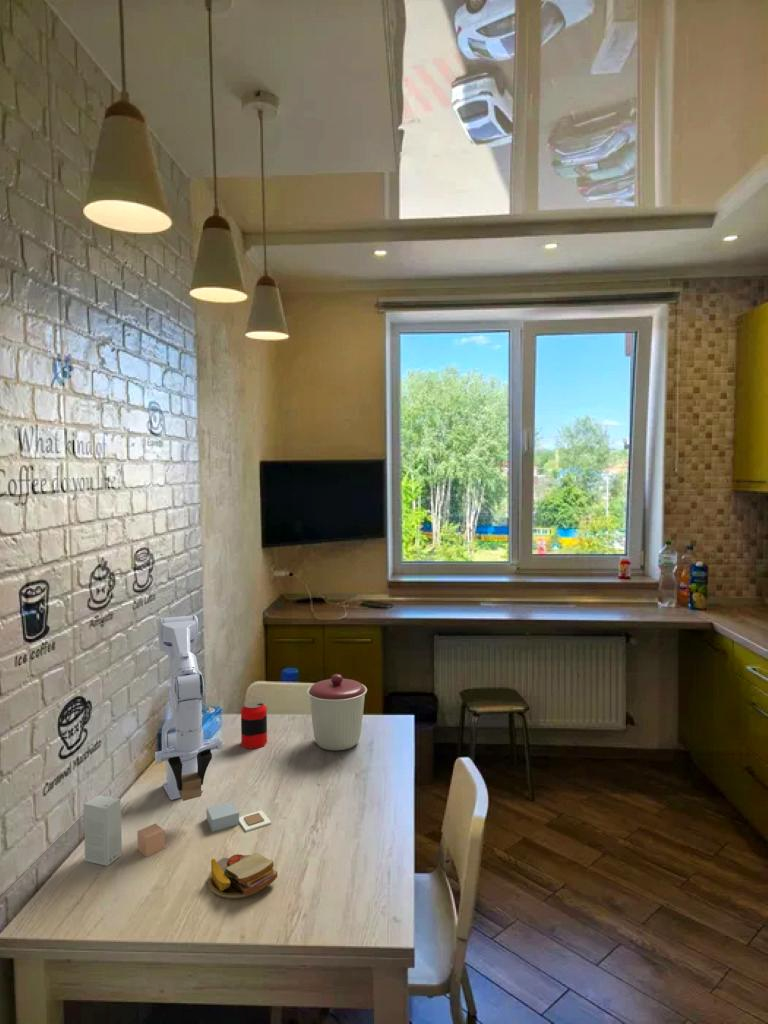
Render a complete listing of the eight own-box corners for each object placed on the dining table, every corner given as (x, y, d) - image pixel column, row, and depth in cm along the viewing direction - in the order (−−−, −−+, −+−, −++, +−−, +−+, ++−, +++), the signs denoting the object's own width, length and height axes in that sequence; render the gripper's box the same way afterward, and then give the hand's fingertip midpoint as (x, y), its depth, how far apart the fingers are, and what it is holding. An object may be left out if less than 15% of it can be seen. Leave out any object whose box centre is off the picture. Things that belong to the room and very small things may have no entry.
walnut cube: (179, 793, 135) (178, 776, 135) (196, 788, 138) (196, 771, 137) (183, 801, 132) (182, 783, 132) (201, 796, 134) (201, 778, 134)
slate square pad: (206, 820, 137) (206, 807, 136) (232, 813, 139) (232, 800, 139) (212, 833, 131) (212, 819, 131) (239, 825, 134) (239, 812, 134)
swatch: (237, 819, 136) (237, 816, 136) (261, 811, 139) (261, 808, 139) (245, 831, 131) (245, 828, 131) (271, 823, 134) (271, 820, 134)
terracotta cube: (137, 849, 125) (137, 831, 125) (155, 841, 128) (155, 823, 128) (146, 857, 122) (146, 838, 122) (164, 848, 125) (164, 830, 125)
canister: (315, 730, 188) (315, 664, 187) (371, 733, 185) (371, 666, 184) (300, 755, 170) (299, 682, 169) (361, 758, 167) (361, 685, 166)
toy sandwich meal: (258, 853, 124) (257, 830, 124) (286, 887, 113) (286, 863, 113) (198, 875, 116) (198, 852, 116) (223, 915, 105) (223, 889, 105)
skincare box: (122, 855, 123) (121, 798, 123) (107, 867, 119) (105, 808, 119) (100, 849, 125) (98, 793, 125) (83, 861, 121) (82, 803, 121)
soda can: (264, 749, 174) (263, 708, 174) (238, 749, 174) (238, 709, 174) (269, 738, 182) (268, 700, 181) (245, 738, 182) (244, 700, 181)
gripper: (158, 740, 127) (160, 802, 128) (225, 726, 135) (226, 784, 135) (152, 729, 133) (154, 788, 134) (216, 716, 141) (217, 772, 141)
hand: (189, 786), depth 135 cm, fingers closed on walnut cube, 4 cm apart
